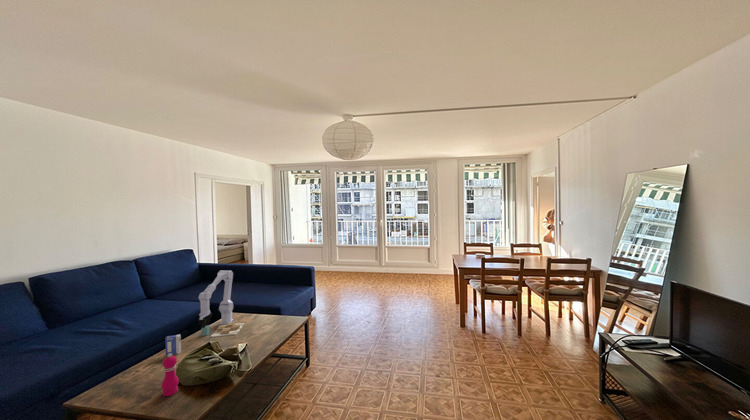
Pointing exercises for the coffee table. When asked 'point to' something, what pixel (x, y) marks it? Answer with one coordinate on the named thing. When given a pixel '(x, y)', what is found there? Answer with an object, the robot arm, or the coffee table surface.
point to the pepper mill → (170, 376)
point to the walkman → (173, 344)
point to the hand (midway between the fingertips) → (205, 325)
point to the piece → (205, 330)
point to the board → (233, 332)
